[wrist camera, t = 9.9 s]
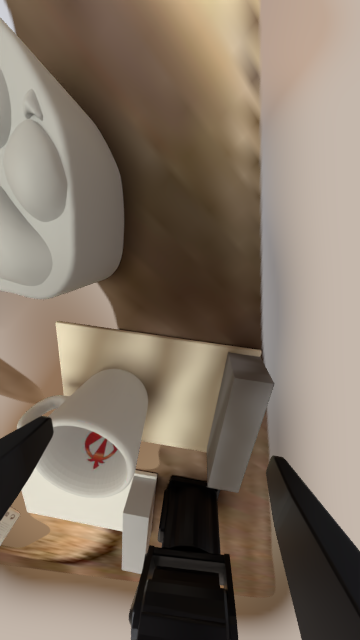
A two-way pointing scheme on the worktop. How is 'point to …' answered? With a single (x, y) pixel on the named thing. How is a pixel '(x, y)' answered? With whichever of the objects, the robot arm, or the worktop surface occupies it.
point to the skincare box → (8, 522)
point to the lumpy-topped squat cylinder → (52, 184)
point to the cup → (94, 434)
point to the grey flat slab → (102, 511)
